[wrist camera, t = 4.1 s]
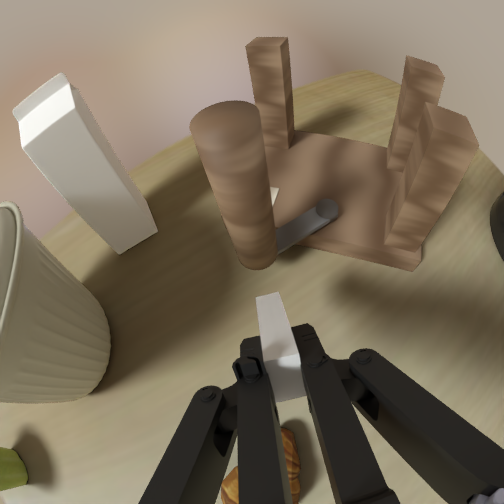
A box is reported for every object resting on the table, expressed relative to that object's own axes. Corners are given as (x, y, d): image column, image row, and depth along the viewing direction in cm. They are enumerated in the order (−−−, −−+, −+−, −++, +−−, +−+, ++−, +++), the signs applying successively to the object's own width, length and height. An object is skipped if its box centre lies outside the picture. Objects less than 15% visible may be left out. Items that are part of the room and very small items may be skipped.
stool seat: (410, 168, 32) (441, 65, 17) (412, 271, 25) (490, 156, 11) (267, 140, 37) (252, 35, 23) (226, 229, 31) (178, 101, 16)
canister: (104, 450, 20) (-72, 445, 1) (22, 368, 25) (-95, 315, 7) (163, 309, 27) (8, 169, 9) (69, 261, 32) (-32, 165, 14)
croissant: (272, 541, 14) (267, 566, 9) (206, 522, 16) (189, 542, 11) (323, 435, 19) (331, 446, 15) (251, 416, 21) (241, 422, 17)
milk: (111, 223, 34) (17, 101, 15) (147, 201, 35) (66, 64, 16) (119, 256, 31) (2, 123, 12) (159, 232, 32) (59, 77, 13)
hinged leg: (323, 197, 27) (331, 65, 15) (346, 220, 26) (371, 85, 13) (232, 250, 26) (180, 119, 13) (251, 280, 24) (206, 149, 11)
